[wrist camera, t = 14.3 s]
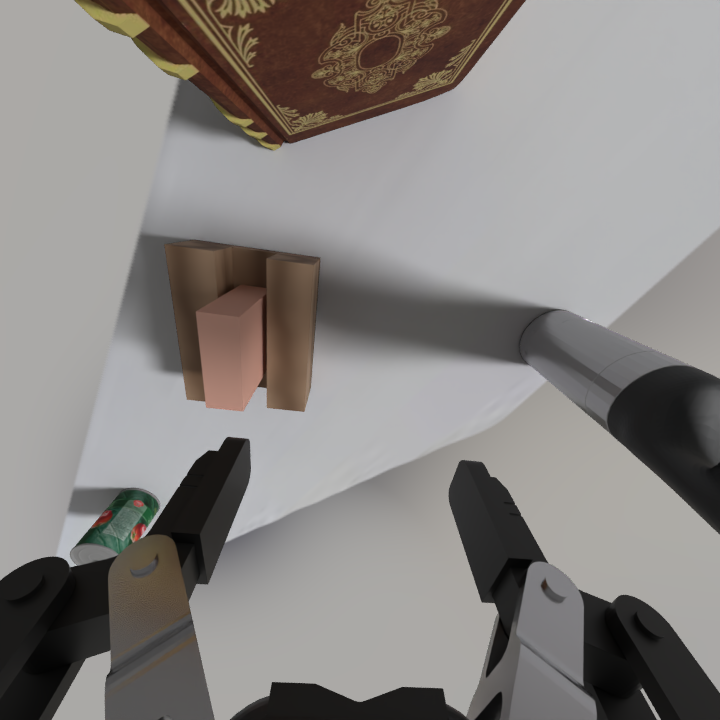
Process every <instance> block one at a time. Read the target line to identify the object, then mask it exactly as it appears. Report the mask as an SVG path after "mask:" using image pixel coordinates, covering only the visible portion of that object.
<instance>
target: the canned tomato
mask: <svg viewBox="0 0 720 720" xmlns="http://www.w3.org/2000/svg"><path fill="white" fill-rule="evenodd" d="M159 509H160V502H159V500H158V499H157V497H156V496H154V495H153V494H152V493H150V492H148V491H146V490H143V489H139V488H128V489H125V490H123V491H121V492H120V493H119V495H118V496H117V497H116V499H115V500H114V501H113V502H112V503H111V504H110V505H109V507H108V508H107V509H106V510H105V512H103V514H102V515H101V516H100V517H99V519H98V520H97V521H96V522H95V523H94V524H93V525H92V527H91V528H90V529H89V530H88V532H87V533H86V534H85V535H84V536H83V537H82V538H81V540H80V541H79V542H78V543H77V545H76V546H75V547H74V548H73V549H72V550H71V552H70V557H71V559H72V561H73V562H74V563H75V564H76V565H78V566H79V565H83V564H87V563H91V562H96V561H100V560H104V559H108V558H111V557H114V556H117V555H119V554H120V553H121V552H122V551H123V550H124V549H125V548H126V547H128V546H129V545H130V544H132V543H133V542H135V541H137V540H139V539H140V537H141V536H142V534H143V533H144V531H145V530H146V528H147V527H148V525H149V524H150V522H151V521H152V519H153V518H154V516H155V515H156V513H157V512H158V511H159Z"/></svg>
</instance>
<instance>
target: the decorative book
mask: <svg viewBox="0 0 720 720" xmlns="http://www.w3.org/2000/svg"><path fill="white" fill-rule="evenodd" d="M75 1H76V2H77V3H78V4H79V5H80V6H81V7H82V8H83V9H84V10H85V11H86V12H87V13H88V14H89V15H90V16H91V17H93V18H94V19H95V20H96V21H98V22H99V23H100V24H102V25H103V26H104V27H106V28H107V29H108V30H110V31H113V32H116V33H119V34H122V35H125V36H128V37H131V39H132V40H133V41H134V43H135V44H136V46H137V47H138V48H139V49H140V50H141V51H142V52H144V54H145V55H146V56H147V57H149V59H151V60H152V61H153V62H154V63H155V64H156V65H157V66H158V67H159V68H160V69H161V70H163V71H164V72H166V73H167V74H168V75H171V76H174V77H177V78H180V79H183V80H187V79H188V80H189V81H191V82H192V83H193V84H194V85H196V86H197V87H198V88H199V89H200V90H202V91H203V92H204V93H205V94H207V95H208V96H209V97H210V99H211V100H212V102H213V103H214V105H215V106H216V108H217V109H218V110H219V111H220V112H221V113H222V114H223V115H224V116H225V117H226V118H227V119H228V120H229V121H231V122H232V123H233V124H236V125H239V126H240V127H241V128H242V129H243V130H244V131H245V132H246V133H247V134H248V135H249V136H251V137H254V138H255V139H256V140H257V141H258V142H259V143H261V144H262V145H263V146H264V147H267V148H269V149H271V150H276V149H278V148H279V147H281V145H282V143H283V141H287V142H289V143H294V142H297V141H300V140H303V139H307V138H310V137H313V136H316V135H319V134H322V133H325V132H329V131H332V130H335V129H338V128H341V127H344V126H347V125H351V124H354V123H357V122H360V121H363V120H366V119H370V118H373V117H376V116H379V115H382V114H385V113H388V112H392V111H395V110H398V109H401V108H404V107H407V106H410V105H413V104H416V103H419V102H422V101H425V100H428V99H430V98H433V97H436V96H438V95H440V94H443V93H445V92H447V91H450V90H452V89H454V88H455V87H456V86H457V85H458V84H459V83H460V82H461V81H462V80H463V79H464V78H465V76H466V75H467V74H468V73H469V72H470V70H471V69H472V68H473V67H474V65H475V64H476V63H477V62H478V60H479V59H480V58H481V56H482V55H483V54H484V53H485V51H486V50H487V49H488V48H489V46H490V45H491V44H492V43H493V41H494V40H495V39H496V37H497V36H498V35H499V34H500V32H501V31H502V30H503V29H504V27H505V26H506V25H507V23H508V22H509V21H510V20H511V18H512V17H513V16H514V15H515V13H516V12H517V11H518V10H519V8H520V7H521V6H522V4H523V3H524V2H525V1H526V0H75Z"/></svg>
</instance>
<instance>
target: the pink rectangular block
mask: <svg viewBox="0 0 720 720" xmlns="http://www.w3.org/2000/svg"><path fill="white" fill-rule="evenodd" d="M196 318H197V327H198V337H199V346H200V355H201V365H202V374H203V383H204V392H205V402H206V407H207V408H216V409H225V410H235V411H244V409H245V407H246V406H247V404H248V402H249V400H250V399H251V397H252V395H253V393H254V392H255V390H256V388H257V386H258V385H259V383H260V381H261V379H262V378H263V376H264V374H265V373H266V371H267V288H262V287H255V286H247V285H239V286H238V287H236V288H234V289H233V290H231V291H229V292H228V293H226V294H224V295H223V296H221V297H219V298H218V299H216V300H214V301H213V302H211V303H209V304H207V305H206V306H204V307H202V308H201V309H199V310H197V311H196Z"/></svg>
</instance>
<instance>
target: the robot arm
mask: <svg viewBox="0 0 720 720" xmlns="http://www.w3.org/2000/svg"><path fill="white" fill-rule="evenodd" d="M520 353H521V355H522V357H523V359H524V360H525V361H526V362H527V363H528V364H529V365H530V366H532V367H533V368H534V369H535V370H536V371H537V372H539V373H540V374H541V375H542V376H543V377H544V378H545V379H547V380H548V381H549V382H550V383H551V384H553V385H554V386H555V387H556V388H557V389H558V390H559V391H561V392H562V393H563V394H564V395H565V396H567V397H568V398H569V399H570V400H571V401H572V402H574V403H575V404H576V405H577V406H578V407H580V408H581V409H582V410H583V411H584V412H585V413H587V414H588V415H589V416H590V417H591V418H592V419H594V420H595V421H596V422H597V423H599V424H600V425H601V426H602V427H603V428H604V429H605V430H607V431H608V432H609V433H610V434H611V435H613V436H614V437H615V438H616V439H617V440H618V441H619V442H620V443H622V444H623V445H624V446H625V447H626V448H627V449H628V450H629V451H631V452H632V453H633V454H634V455H635V456H636V457H637V458H638V459H640V461H642V462H643V463H644V464H645V465H646V466H647V467H649V468H650V469H651V470H652V471H653V472H654V473H655V474H657V475H658V476H659V477H660V478H661V479H662V480H663V481H664V482H665V483H666V484H667V485H668V486H670V487H671V488H672V489H673V490H674V491H675V492H676V493H677V494H678V495H679V496H680V497H681V498H682V499H683V500H684V501H685V502H686V503H688V505H690V506H691V507H692V508H693V509H694V510H695V511H696V512H697V513H698V514H699V515H700V516H701V517H702V518H703V519H704V520H705V521H706V522H707V523H708V524H709V525H710V526H711V527H712V528H713V529H715V530H716V531H717V532H718V533H719V534H720V379H719V378H717V377H715V376H713V375H711V374H709V373H706V372H704V371H702V370H699V369H697V368H695V367H693V366H691V365H688V364H686V363H684V362H682V361H679V360H677V359H675V358H673V357H670V356H668V355H666V354H663V353H661V352H659V351H656V350H654V349H652V348H650V347H648V346H645V345H643V344H641V343H639V342H637V341H634V340H632V339H630V338H628V337H625V336H623V335H621V334H619V333H616V332H614V331H612V330H609V329H607V328H605V327H603V326H601V325H599V324H596V323H594V322H592V321H590V320H588V319H585V318H583V317H581V316H579V315H576V314H574V313H572V312H569V311H564V310H556V311H551V312H548V313H545V314H543V315H541V316H540V317H538V318H537V319H535V320H534V321H533V322H532V323H531V324H530V325H529V326H528V327H527V328H526V330H525V331H524V333H523V335H522V337H521V341H520ZM250 472H251V462H250V441H249V439H244V438H233V437H227V438H226V439H225V440H224V442H223V444H222V446H221V447H220V449H219V451H210V450H209V451H207V452H206V453H205V454H204V455H202V456H201V457H200V458H199V459H197V460H196V461H195V463H194V464H193V466H192V467H191V469H190V470H189V472H188V473H187V476H185V478H184V479H183V481H182V482H181V484H180V487H178V489H177V490H176V492H175V493H174V495H173V496H172V498H171V499H170V501H169V502H168V504H167V505H166V507H165V508H164V510H163V511H162V513H161V515H160V516H159V518H158V519H157V521H156V522H155V524H154V525H153V527H152V528H151V530H150V531H149V532H148V534H147V535H146V536H145V537H144V538H141V539H139V540H137V541H135V542H133V543H132V544H130V545H129V546H128V547H126V548H125V549H124V550H123V551H122V552H121V553H120V554H119V555H117V556H114V557H111V558H108V559H104V560H100V561H96V562H91V563H87V564H83V565H79V566H74V567H70V566H69V564H68V563H67V561H66V560H64V559H63V558H60V557H45V558H41V559H37V560H34V561H32V562H29V563H27V564H25V565H23V566H21V567H19V568H17V569H16V570H14V571H13V572H11V573H10V574H8V575H7V576H5V577H4V578H3V579H2V580H1V581H0V720H52V718H53V716H54V714H55V712H56V711H57V709H58V707H59V705H60V704H61V702H62V700H63V698H64V696H65V695H66V693H67V691H68V689H69V688H70V686H71V684H72V682H73V680H74V679H75V677H76V675H77V673H78V672H79V670H80V668H81V666H82V664H83V662H84V661H85V659H86V658H89V657H91V656H95V655H97V654H101V653H104V652H107V651H110V650H111V669H110V673H109V674H108V675H107V677H106V683H105V720H214V715H213V710H212V706H211V701H210V697H209V692H208V688H207V683H206V679H205V674H204V670H203V666H202V661H201V657H200V652H199V647H198V643H197V638H196V634H195V630H194V625H193V620H192V616H191V612H190V607H189V599H190V597H191V595H192V592H193V590H194V588H195V585H196V584H208V583H209V580H210V578H211V576H212V573H213V570H214V568H215V566H216V563H217V561H218V558H219V556H220V553H221V551H222V548H223V545H224V543H225V541H226V538H227V536H228V533H229V531H230V528H231V526H232V523H233V521H234V518H235V516H236V513H237V511H238V508H239V506H240V503H241V501H242V498H243V496H244V493H245V491H246V488H247V486H248V483H249V478H250ZM449 502H450V506H451V509H452V512H453V515H454V518H455V522H456V525H457V528H458V531H459V534H460V537H461V540H462V543H463V546H464V549H465V552H466V555H467V558H468V562H469V565H470V567H471V571H472V574H473V576H474V580H475V583H476V586H477V589H478V592H479V595H480V598H481V601H482V602H485V603H495V605H496V607H497V610H498V614H497V616H496V619H495V622H494V626H493V630H492V634H491V638H490V642H489V646H488V650H487V654H486V658H485V662H484V667H483V670H482V674H481V678H480V681H479V684H478V687H477V690H476V692H475V694H474V696H473V699H472V701H471V704H470V707H469V710H468V713H467V716H466V717H465V716H464V715H463V714H462V713H461V712H459V711H457V710H456V709H454V708H453V707H451V706H449V705H447V704H446V702H445V697H444V692H443V689H441V688H413V687H401V688H399V689H396V690H393V691H390V692H388V693H385V694H382V695H380V696H377V697H374V698H372V699H369V700H366V701H363V702H357V701H354V700H351V699H349V698H347V697H345V696H342V695H340V694H337V693H335V692H333V691H331V690H328V689H326V688H324V687H322V686H319V685H317V684H305V683H280V682H279V683H278V682H272V685H271V691H270V696H268V697H265V698H262V699H259V700H257V701H255V702H253V703H252V704H250V705H248V706H247V707H245V708H244V709H243V710H241V711H240V712H238V713H237V714H236V715H235V716H233V717H232V718H231V719H230V720H657V719H656V718H655V716H654V714H653V712H652V710H651V709H650V707H649V705H648V703H647V701H646V700H645V698H644V696H643V694H642V693H641V691H640V690H641V689H642V688H643V689H644V691H645V692H646V694H647V696H648V698H649V699H650V701H651V703H652V705H653V706H654V708H655V710H656V712H657V713H658V715H659V717H660V718H661V720H720V693H719V692H718V690H717V689H716V687H715V686H714V685H713V683H712V682H711V680H710V679H709V678H708V677H707V675H706V674H705V672H704V671H703V669H702V668H701V667H700V665H699V664H698V663H697V661H696V660H695V658H694V657H693V656H692V654H691V653H690V652H689V650H688V649H687V647H686V646H685V645H684V644H683V642H682V641H681V639H680V638H679V637H678V635H677V634H676V632H675V631H674V630H673V628H672V627H671V626H670V624H669V623H668V622H667V621H666V620H665V619H664V618H663V617H662V616H661V615H660V614H659V613H658V612H657V611H656V610H654V609H653V608H652V607H651V606H649V605H648V604H646V603H645V602H643V601H641V600H639V599H637V598H635V597H632V596H629V595H621V596H619V597H617V598H616V599H615V600H614V601H613V602H612V603H610V602H608V601H605V600H603V599H600V598H598V597H595V596H592V595H590V594H588V593H585V592H583V591H581V590H578V589H577V587H576V586H575V584H574V583H573V582H572V581H571V580H570V578H569V577H568V576H567V575H566V574H564V573H563V572H562V571H560V570H559V569H558V568H556V567H555V566H553V565H551V564H549V563H548V562H547V560H546V559H545V557H544V555H543V553H542V551H541V550H540V548H539V546H538V544H537V542H536V540H535V539H534V537H533V535H532V533H531V531H530V530H529V528H528V526H527V524H526V522H525V521H524V519H523V517H521V513H520V512H519V510H518V508H517V506H516V505H515V503H514V501H513V499H512V497H511V495H510V493H509V492H508V490H507V489H506V488H505V487H504V486H503V485H502V484H501V483H500V481H498V479H497V478H495V477H490V475H489V473H488V471H487V469H486V467H485V465H484V464H483V463H482V462H476V461H465V460H462V461H460V462H459V464H458V467H457V469H456V472H455V475H454V477H453V480H452V482H451V485H450V488H449Z"/></svg>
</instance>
